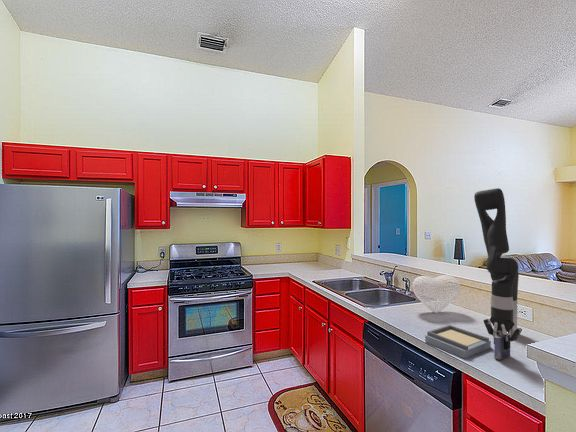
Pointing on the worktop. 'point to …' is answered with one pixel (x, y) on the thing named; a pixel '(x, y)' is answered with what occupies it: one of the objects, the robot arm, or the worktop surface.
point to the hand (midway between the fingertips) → (501, 347)
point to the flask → (500, 347)
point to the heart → (436, 291)
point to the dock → (457, 341)
